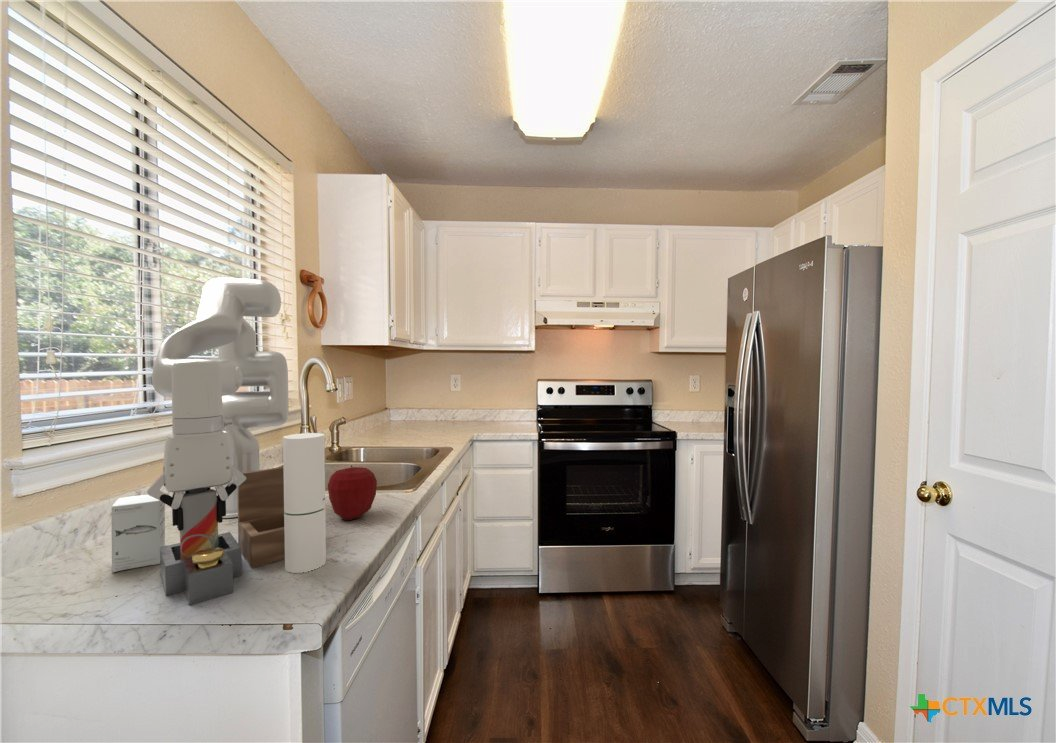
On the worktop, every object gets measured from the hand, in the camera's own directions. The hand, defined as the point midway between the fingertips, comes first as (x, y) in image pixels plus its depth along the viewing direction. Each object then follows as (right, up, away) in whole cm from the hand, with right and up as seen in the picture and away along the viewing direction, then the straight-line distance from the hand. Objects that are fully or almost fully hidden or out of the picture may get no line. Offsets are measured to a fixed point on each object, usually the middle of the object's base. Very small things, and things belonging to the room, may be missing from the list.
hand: (200, 523), depth 84 cm
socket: (+2, -9, -2) cm, 10 cm away
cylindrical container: (+18, -10, +4) cm, 20 cm away
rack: (+8, -9, +10) cm, 16 cm away
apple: (+16, -9, +31) cm, 36 cm away
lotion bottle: (0, -10, 0) cm, 10 cm away
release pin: (+6, -9, -6) cm, 12 cm away
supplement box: (-16, -10, +6) cm, 20 cm away
